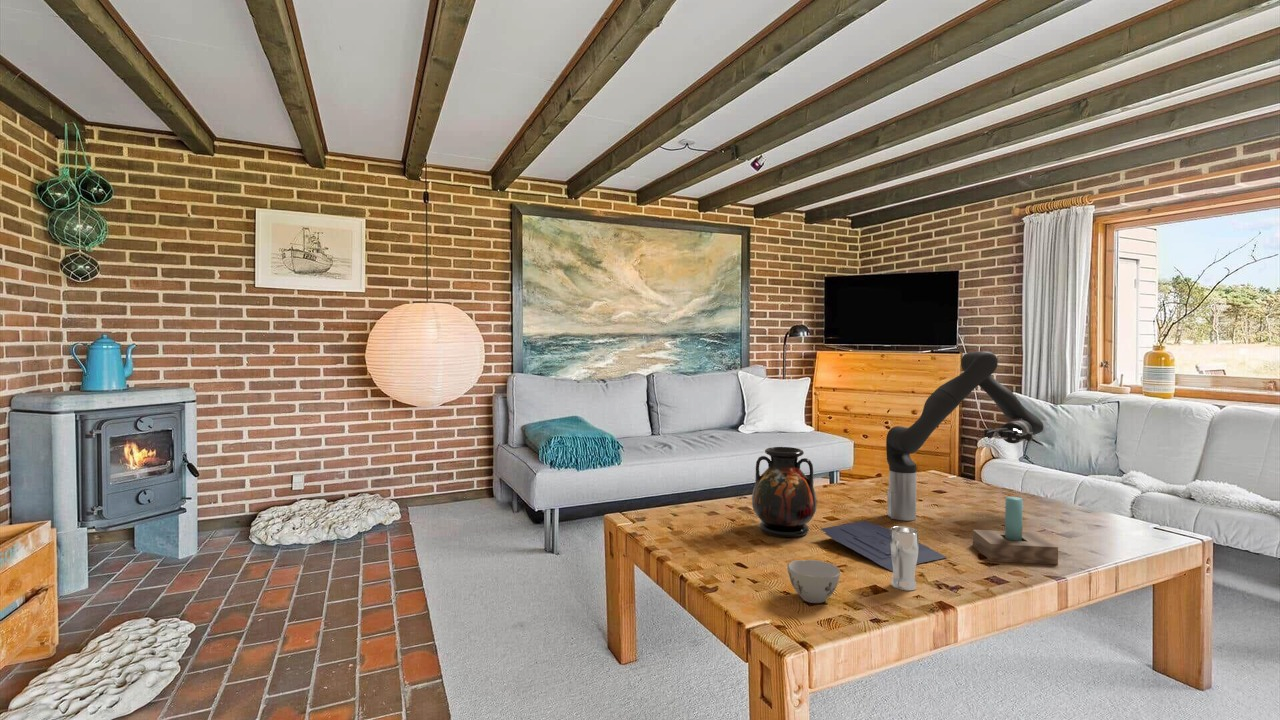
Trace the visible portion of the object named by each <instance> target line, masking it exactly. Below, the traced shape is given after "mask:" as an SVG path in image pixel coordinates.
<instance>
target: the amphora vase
mask: <svg viewBox="0 0 1280 720" xmlns="http://www.w3.org/2000/svg"><path fill="white" fill-rule="evenodd" d="M804 452H805V451H804V450H803V449H801V448H798V447H797V448H796V447H790V446H773V447H771V446H770V447H768V448H766V449H764V453H765V454H766V455H768V456H770V457H768V456H765V455H761V456H759V457H758V458H757V460H756V463H755V483H754V486H753V490H752V495H751V503H752V504H751V505H752V509H753V511H754V514H755V516H757V518H758V519H759V520H760V521H761V522H759V524H758V525H759V526H758V527H759V529H760V530H761V531H762V532H763V533H764V534H767V535H769V536H772V537H777V538H787V539H788V538H790V539H791V538H801V537H803V536H805V535H807V534H808V533H809V530H810V528H809V526H808V523H809V522H810V521H811V520H812V519H813V517H814V516H815V514H816V512H817V506H818V500H817V494H816V491H815V487H814V466H813V463H812V461H811V459H808V457H807V458H805V457H804V458H801V459H799V457H802V456H803V455H804V454H805V453H804ZM798 459H799V460H798ZM763 460H764V461H766V463H767V466H768V467H767V468H766V469H765V470H764V472H763V473H762V474H760V466H761V462H762V461H763ZM802 463H806V464H807V465H808V468H809V477H807V476H806V474H805V473H804V472H803V470H802V469H801V464H802Z"/></svg>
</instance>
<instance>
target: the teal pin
mask: <svg viewBox="0 0 1280 720" xmlns="http://www.w3.org/2000/svg"><path fill="white" fill-rule="evenodd" d="M1023 502H1024V501H1023V498H1021V497H1017V496H1006V497H1005V506H1004V507H1005V509H1004V512H1005V513H1004V516H1005V519H1004V521H1005V523H1004V524H1005V525H1004V531H1005V539H1006V540H1007V541H1022V532H1023V511H1024V510H1023V508H1024V507H1023V505H1024V504H1023Z"/></svg>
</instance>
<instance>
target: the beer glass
mask: <svg viewBox="0 0 1280 720" xmlns="http://www.w3.org/2000/svg"><path fill="white" fill-rule="evenodd" d="M890 530H891V533H890V554H891V560H892V566H893V571H892V577H891V582H890V585H891V586H892V588H895V589H897V590H900V591H907V592H910V591H915V590H916V589H917V584H916V583H917V582H916V576H915V574H916V573H915V572H916V567H917V564H916V563H917V558H918V551H919V543H920V541H919V531H918V530H917V529H916V528H913V527H910V526H905V525H896V526H894V525H893V526H892V527H890Z"/></svg>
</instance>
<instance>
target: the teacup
mask: <svg viewBox="0 0 1280 720" xmlns="http://www.w3.org/2000/svg"><path fill="white" fill-rule="evenodd" d="M787 573H788V576H789V580H790V583H791V585H792V587H793V589H794V591H795V592H796V593H797V594H798V595H799V596H800V597H801V598H802V600H803V601H805V602H807V603H811V604H822V603H825V602H826V601H827V599H829V598H830V597H831V596H832V595H833V593H835V590H836V589H837V586H838V584H839V580H840V576H841V569H839V567H838V566H837V565H835V564H833V563H830V562H826V561H822V560H818V559H817V560H816V559H806V560H802V559H798V560H792V561H790V562H788V564H787Z"/></svg>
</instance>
